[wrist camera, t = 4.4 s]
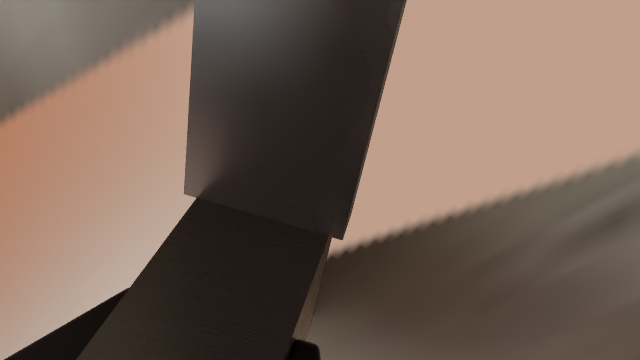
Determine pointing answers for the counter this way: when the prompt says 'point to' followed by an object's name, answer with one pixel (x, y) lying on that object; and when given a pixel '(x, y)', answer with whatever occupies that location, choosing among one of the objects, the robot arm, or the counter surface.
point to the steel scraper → (259, 178)
